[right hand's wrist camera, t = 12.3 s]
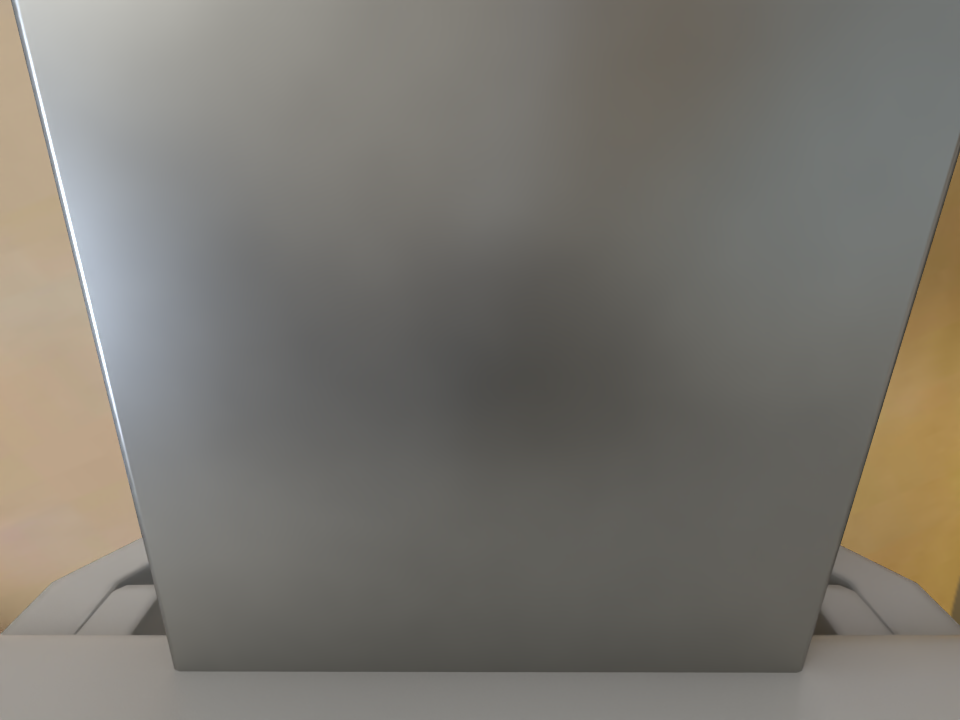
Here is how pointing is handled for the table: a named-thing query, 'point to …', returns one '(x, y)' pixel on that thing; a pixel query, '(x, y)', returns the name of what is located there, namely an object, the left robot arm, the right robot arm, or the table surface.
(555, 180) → the bar
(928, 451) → the table surface
